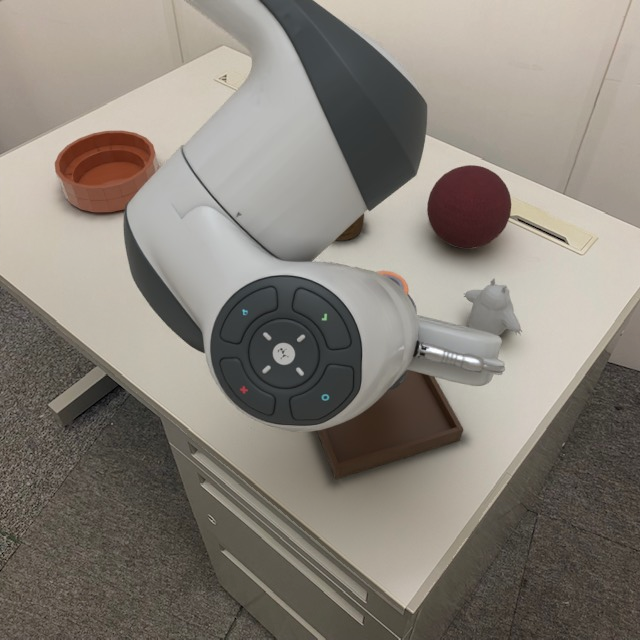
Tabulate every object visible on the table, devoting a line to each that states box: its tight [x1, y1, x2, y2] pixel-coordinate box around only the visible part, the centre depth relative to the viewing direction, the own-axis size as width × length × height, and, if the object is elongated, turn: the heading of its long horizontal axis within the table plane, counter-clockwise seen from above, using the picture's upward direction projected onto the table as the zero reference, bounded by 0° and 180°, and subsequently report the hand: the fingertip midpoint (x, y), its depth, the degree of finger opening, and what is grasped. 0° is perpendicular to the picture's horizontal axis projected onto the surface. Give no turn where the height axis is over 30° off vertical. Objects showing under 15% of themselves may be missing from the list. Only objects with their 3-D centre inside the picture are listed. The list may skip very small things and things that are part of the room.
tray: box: [316, 370, 465, 480], centre depth 65 cm, size 13×13×2 cm
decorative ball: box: [426, 164, 512, 250], centre depth 79 cm, size 10×10×10 cm
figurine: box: [463, 277, 523, 337], centre depth 69 cm, size 8×6×8 cm
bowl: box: [54, 130, 160, 213], centre depth 89 cm, size 13×13×4 cm
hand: (382, 323), depth 57 cm, fingers closed on pill bottle, 6 cm apart
